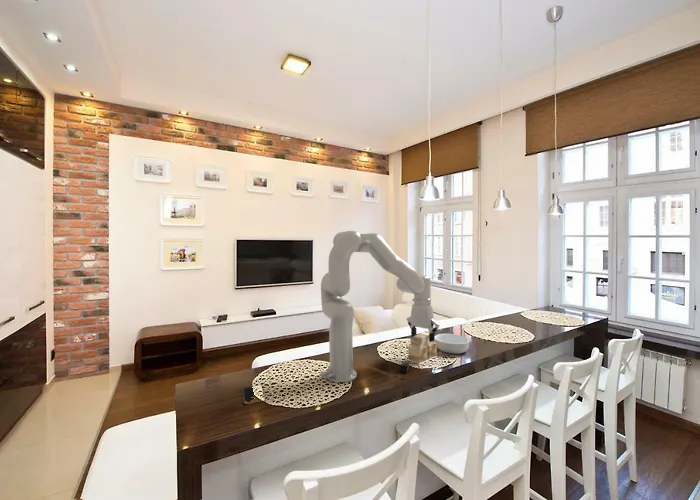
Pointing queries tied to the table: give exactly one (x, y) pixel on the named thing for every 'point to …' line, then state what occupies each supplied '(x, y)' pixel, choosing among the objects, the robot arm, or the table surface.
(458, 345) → the cereal bowl
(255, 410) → the table surface
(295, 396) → the table surface
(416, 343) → the lintel
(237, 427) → the table surface
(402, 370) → the small black block
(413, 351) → the pillar
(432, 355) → the pillar
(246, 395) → the cell phone
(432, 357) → the build board
